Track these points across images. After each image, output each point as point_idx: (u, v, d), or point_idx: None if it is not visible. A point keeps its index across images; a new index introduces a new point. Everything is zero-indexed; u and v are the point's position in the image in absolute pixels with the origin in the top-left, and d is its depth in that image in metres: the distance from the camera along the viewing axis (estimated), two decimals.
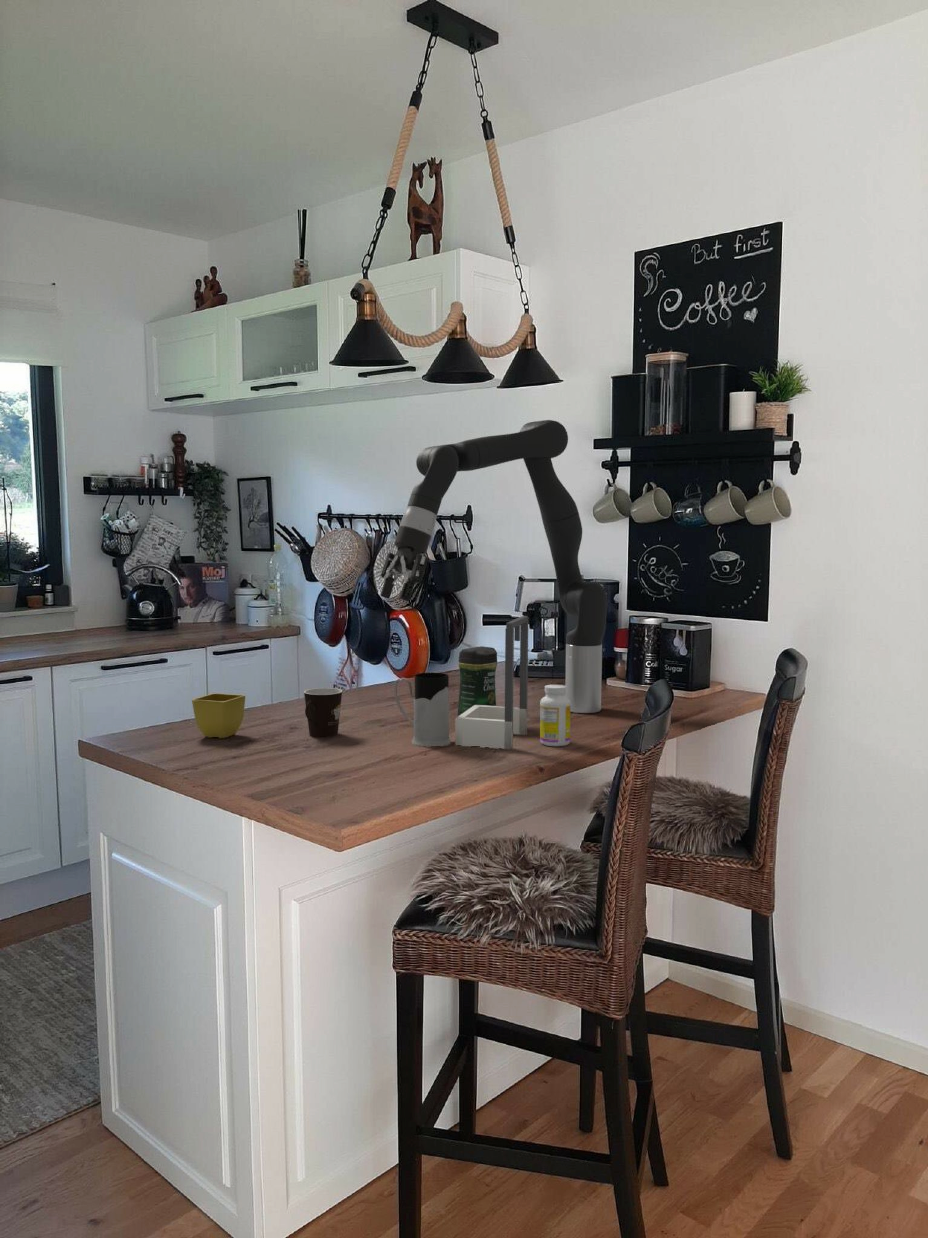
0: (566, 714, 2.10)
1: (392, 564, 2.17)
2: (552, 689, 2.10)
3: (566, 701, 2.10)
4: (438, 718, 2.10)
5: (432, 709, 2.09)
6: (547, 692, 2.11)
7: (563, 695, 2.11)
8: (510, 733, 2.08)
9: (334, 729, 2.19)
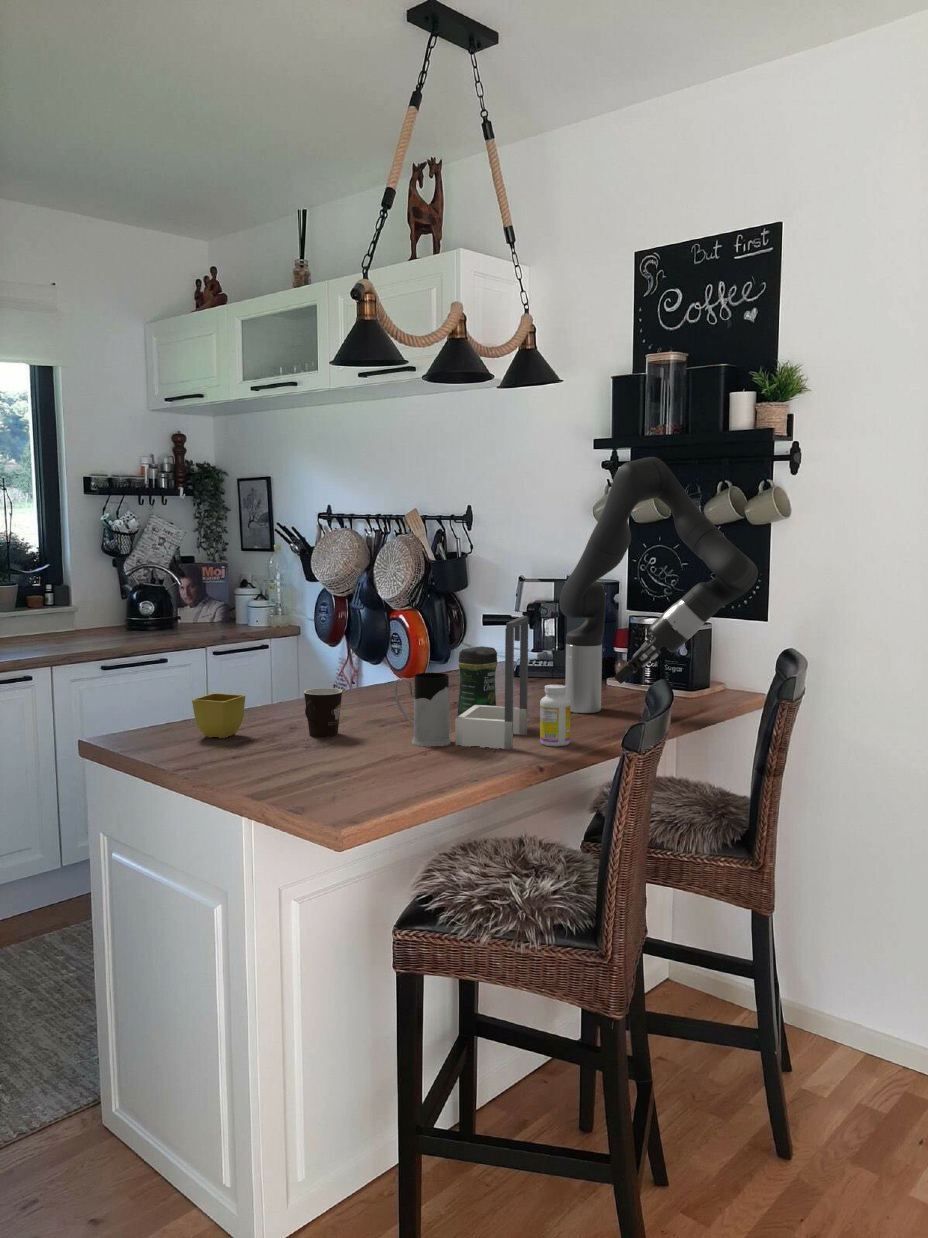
0: (566, 714, 2.10)
1: None
2: (552, 689, 2.10)
3: (566, 701, 2.10)
4: (438, 718, 2.10)
5: (432, 709, 2.09)
6: (547, 692, 2.11)
7: (563, 695, 2.11)
8: (510, 733, 2.08)
9: (334, 729, 2.19)
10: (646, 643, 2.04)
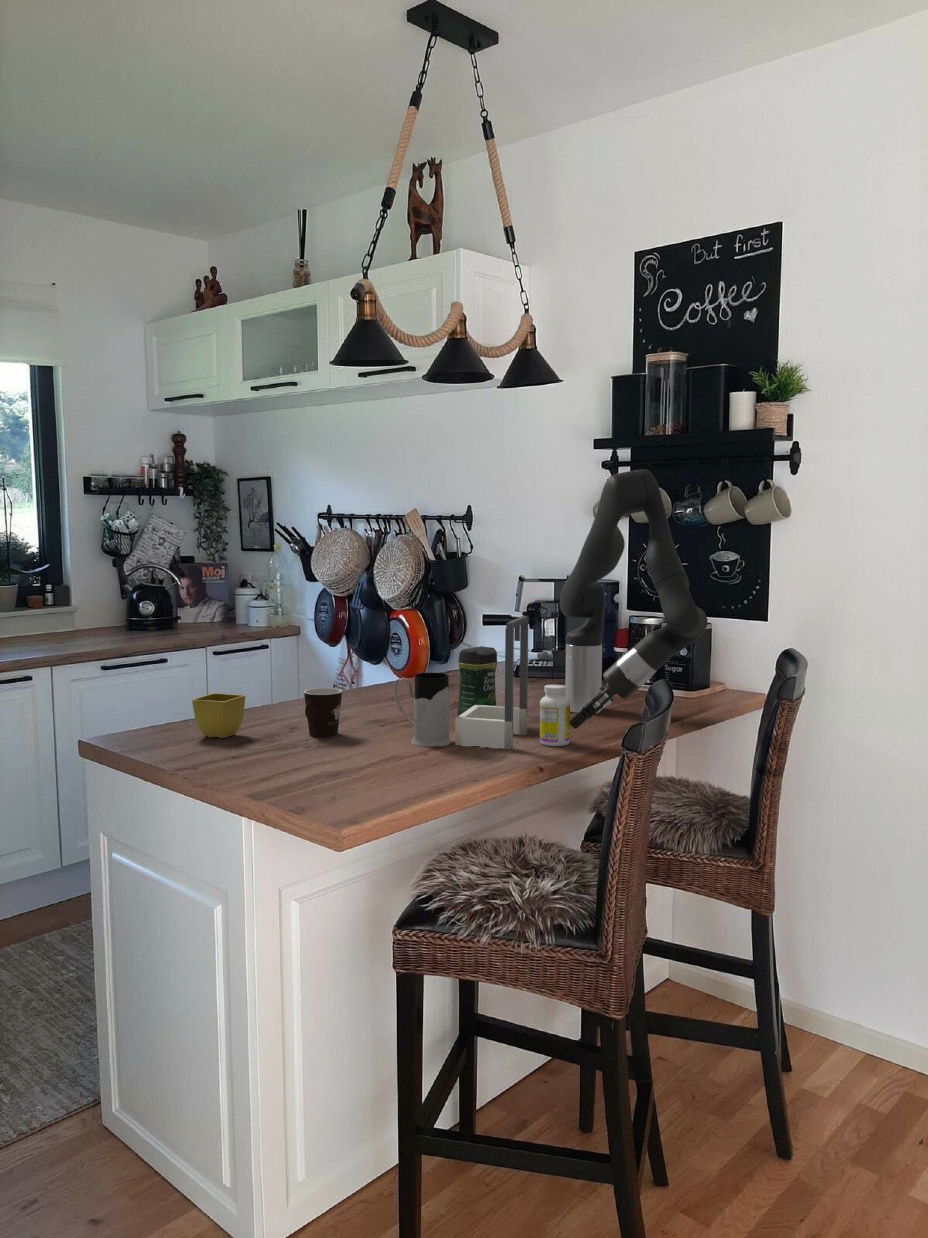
0: (566, 714, 2.10)
1: (603, 707, 2.08)
2: (552, 689, 2.10)
3: (565, 701, 2.10)
4: (438, 718, 2.10)
5: (432, 709, 2.09)
6: (547, 692, 2.11)
7: (563, 695, 2.11)
8: (510, 733, 2.08)
9: (334, 729, 2.19)
10: (600, 690, 2.08)
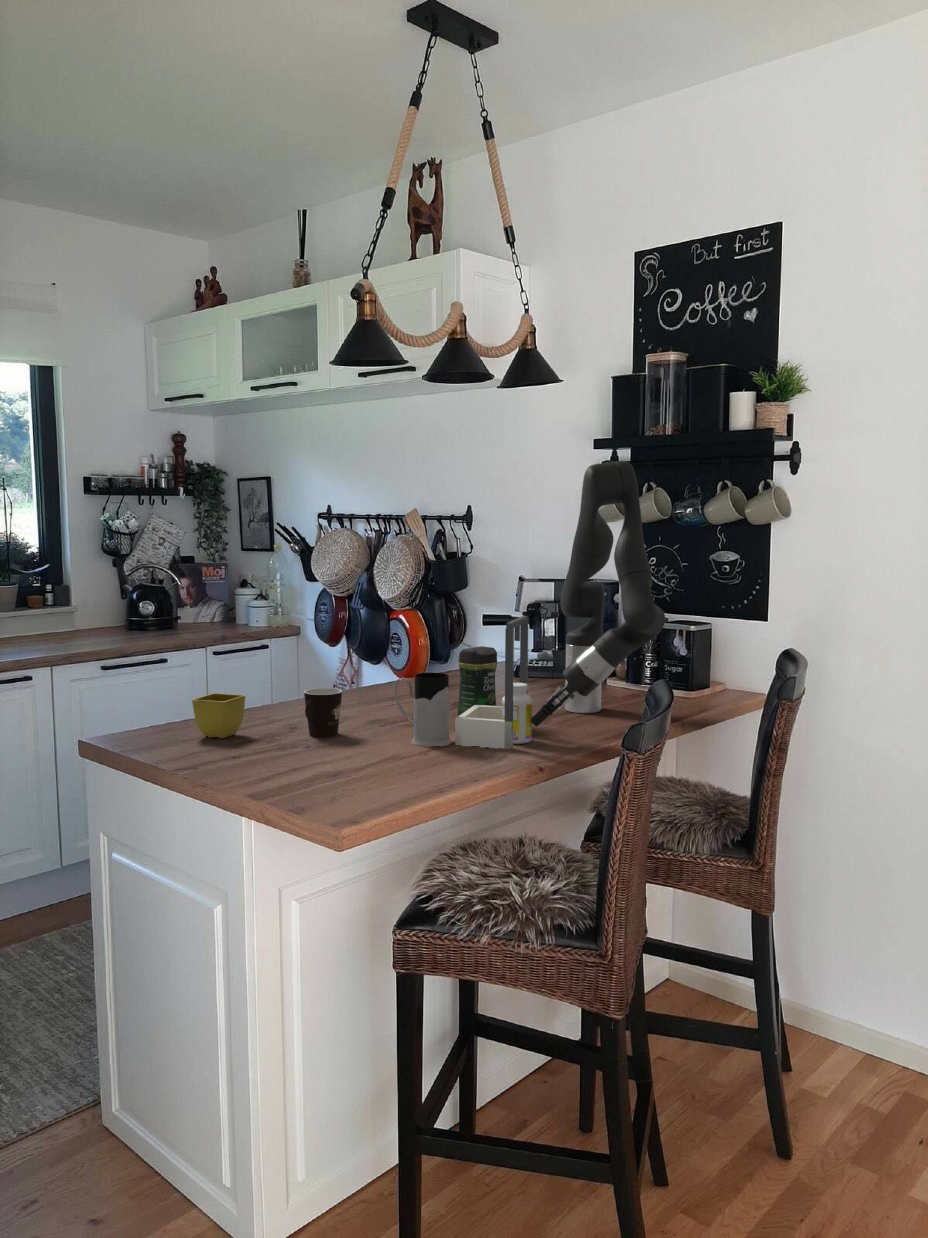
0: (526, 712, 2.12)
1: (564, 704, 2.10)
2: (513, 687, 2.12)
3: (526, 699, 2.12)
4: (438, 718, 2.10)
5: (432, 709, 2.09)
6: None
7: (524, 693, 2.13)
8: (510, 733, 2.08)
9: (334, 729, 2.19)
10: (560, 688, 2.10)
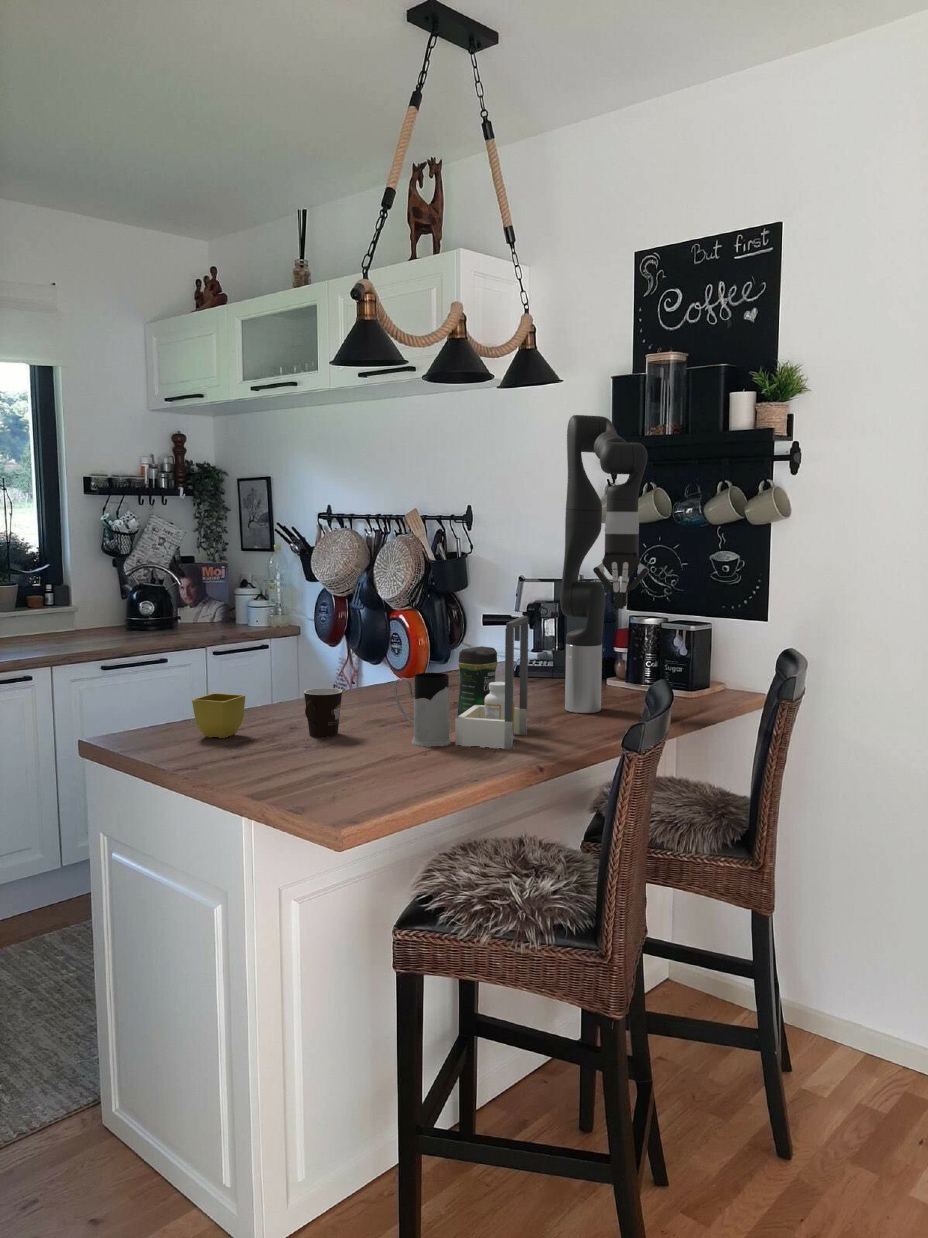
0: None
1: (615, 573, 2.18)
2: (495, 686, 2.13)
3: None
4: (438, 718, 2.10)
5: (432, 709, 2.09)
6: (490, 689, 2.14)
7: None
8: (510, 733, 2.08)
9: (334, 729, 2.19)
10: None
